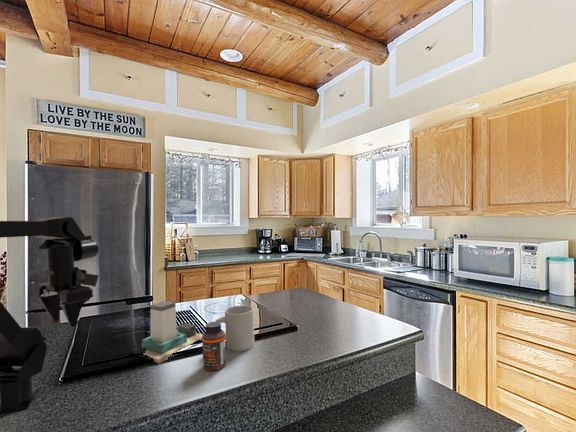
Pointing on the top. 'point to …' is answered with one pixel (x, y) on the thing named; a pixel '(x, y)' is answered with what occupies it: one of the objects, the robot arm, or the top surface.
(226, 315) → the mug
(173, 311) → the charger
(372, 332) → the top surface
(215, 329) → the supplement bottle
